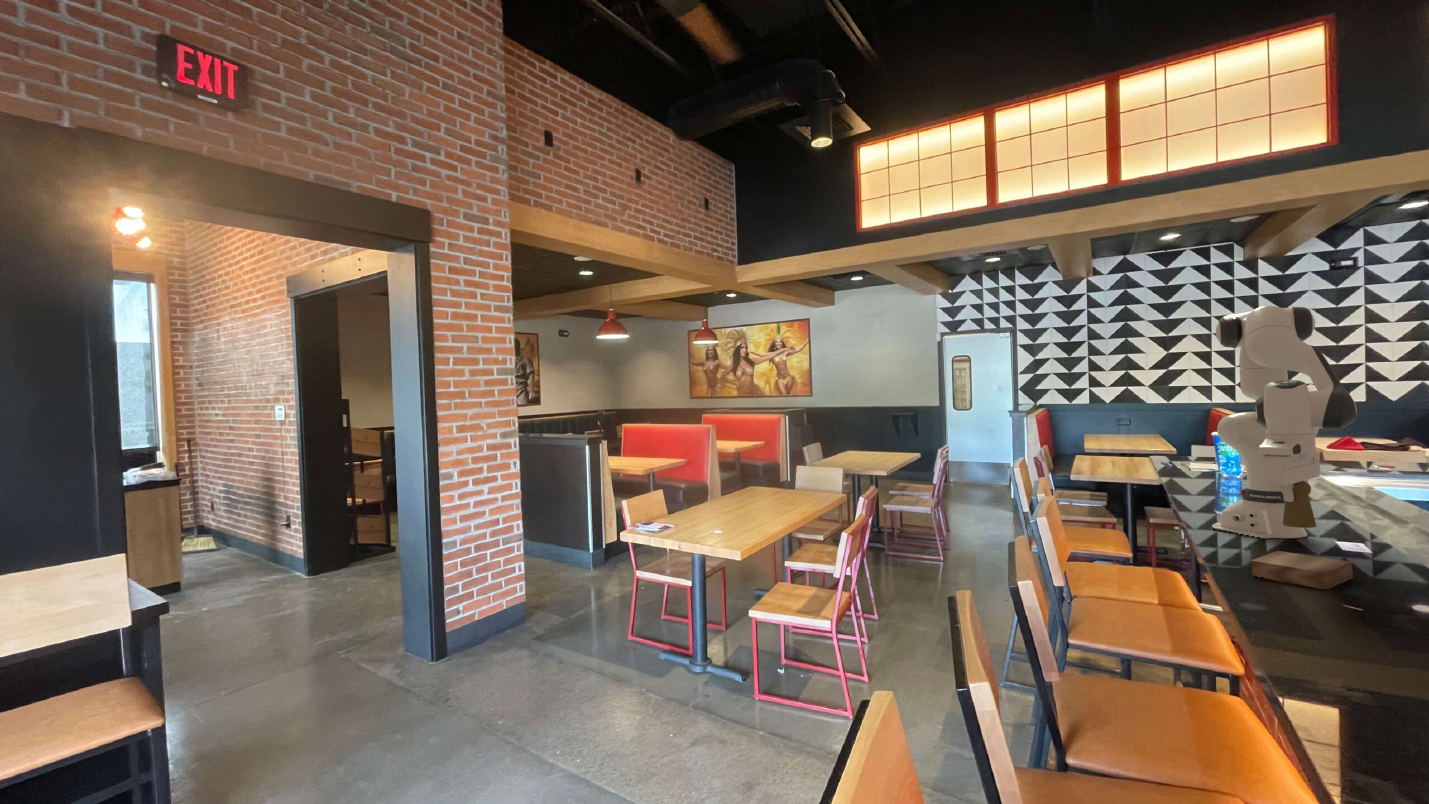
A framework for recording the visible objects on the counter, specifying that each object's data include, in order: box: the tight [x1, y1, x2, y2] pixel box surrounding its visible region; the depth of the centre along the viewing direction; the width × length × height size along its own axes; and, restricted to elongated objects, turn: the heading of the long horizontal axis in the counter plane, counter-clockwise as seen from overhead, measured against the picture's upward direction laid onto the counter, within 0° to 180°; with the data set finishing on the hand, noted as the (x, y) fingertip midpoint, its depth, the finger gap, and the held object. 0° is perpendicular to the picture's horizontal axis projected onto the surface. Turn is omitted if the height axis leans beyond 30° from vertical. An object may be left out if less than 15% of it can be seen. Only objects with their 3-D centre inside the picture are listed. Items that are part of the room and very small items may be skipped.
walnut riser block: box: [1250, 550, 1354, 590], centre depth 147 cm, size 14×14×4 cm
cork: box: [1283, 482, 1317, 529], centre depth 147 cm, size 6×6×11 cm
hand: (1295, 499), depth 147 cm, fingers closed on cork, 4 cm apart
